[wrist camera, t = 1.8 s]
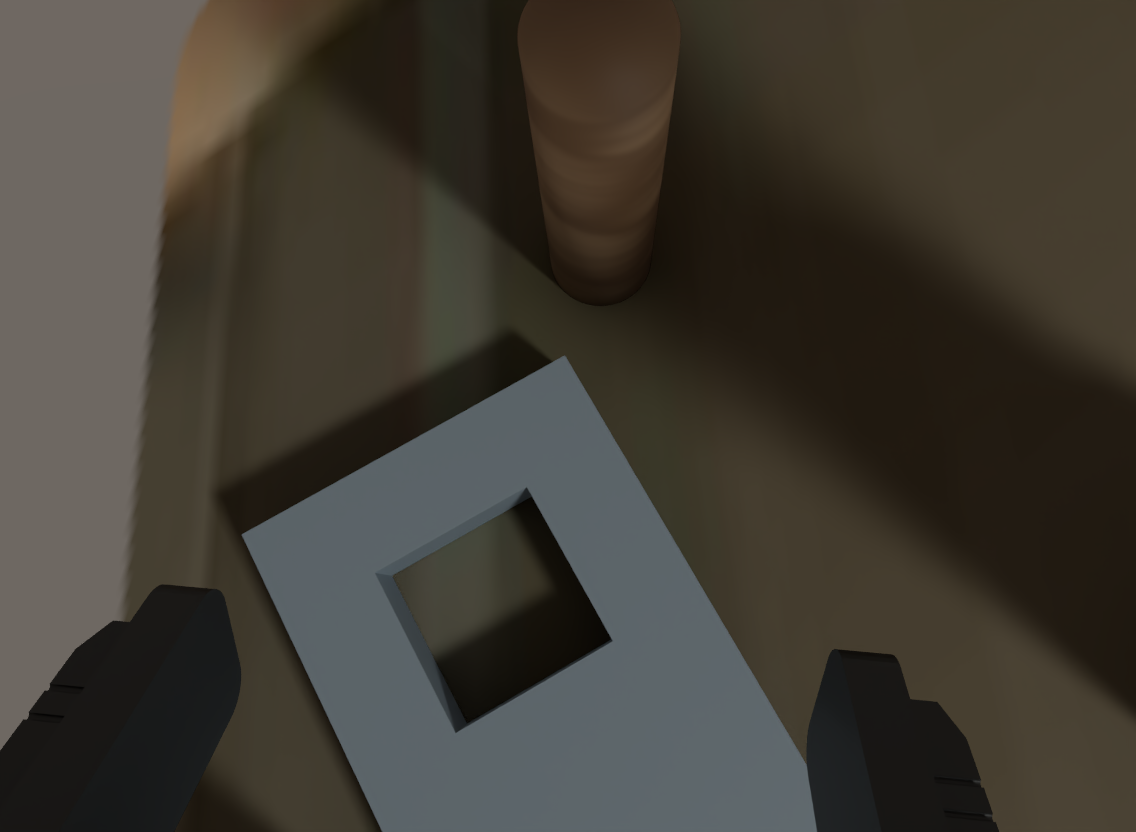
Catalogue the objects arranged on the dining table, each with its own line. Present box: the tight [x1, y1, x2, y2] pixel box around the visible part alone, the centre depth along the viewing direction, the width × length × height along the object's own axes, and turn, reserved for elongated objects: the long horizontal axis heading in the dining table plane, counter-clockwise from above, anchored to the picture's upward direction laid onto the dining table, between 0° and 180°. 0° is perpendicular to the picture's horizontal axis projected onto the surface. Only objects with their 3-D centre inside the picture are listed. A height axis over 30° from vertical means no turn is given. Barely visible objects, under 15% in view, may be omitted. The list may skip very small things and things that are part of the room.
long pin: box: [517, 0, 681, 306], centre depth 28 cm, size 4×4×14 cm
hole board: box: [242, 356, 817, 832], centre depth 30 cm, size 13×20×2 cm, turn 29°
